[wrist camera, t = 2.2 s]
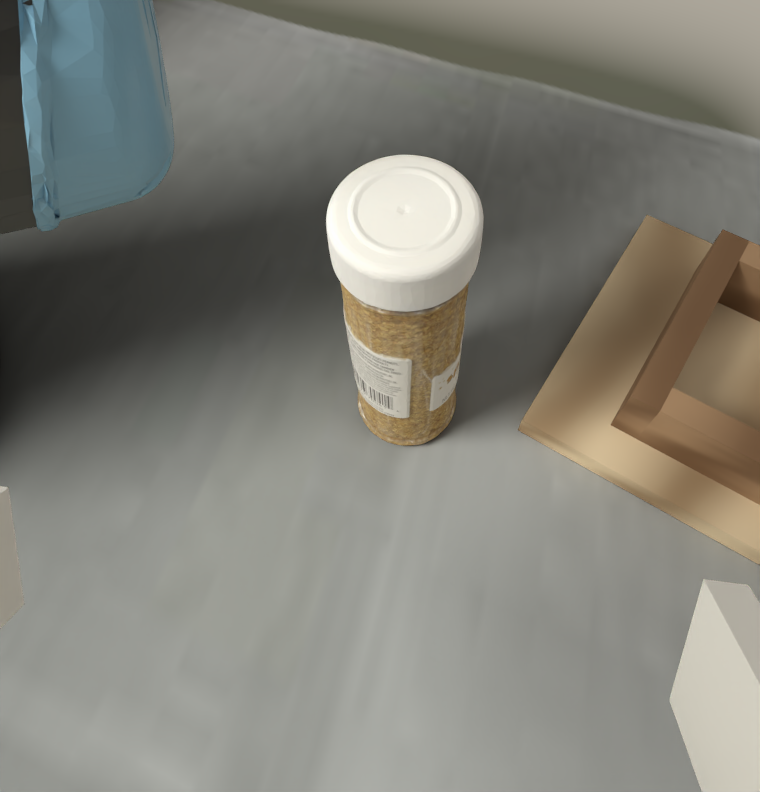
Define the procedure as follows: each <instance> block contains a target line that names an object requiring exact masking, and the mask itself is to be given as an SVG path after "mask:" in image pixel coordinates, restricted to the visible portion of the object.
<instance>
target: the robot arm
mask: <svg viewBox="0 0 760 792" xmlns="http://www.w3.org/2000/svg"><path fill="white" fill-rule="evenodd" d="M173 151H174V132H173V122H172V113H171V106H170V99H169V92H168V86H167V79H166V73H165V67H164V62H163V56H162V50H161V44H160V38H159V33H158V28H157V22H156V17H155V11H154V6H153V1H152V0H0V234H4V233H9V232H13V231H18V230H22V229H27V228H31V227H36V226H37V227H38V229H40V230H41V232H42V231H50V230H52V229H54V228H56V227H58V225H59V223H60V221H61V220H63V219H67V218H71V217H74V216H78V215H82V214H85V213H89V212H93V211H96V210H100V209H103V208H107V207H111V206H114V205H118V204H122V203H125V202H129V201H133V200H135V199H138V198H140V197H142V196H144V195H146V194H147V193H149V192H151V191H152V190H153V189H154V188H156V187H157V186H158V185H159V183H160V182H161V181H162V180H163V178H164V177H165V175H166V173H167V171H168V169H169V167H170V164H171V161H172V157H173ZM23 605H24V597H23V590H22V582H21V575H20V568H19V560H18V553H17V545H16V538H15V531H14V523H13V516H12V509H11V501H10V494H9V487H2V486H0V629H1V627H2V626H3V625H4V624H5V623H6V622H7V621H8V620H9V619H10V618H11V617H12V616H13V615H14V614H15V613H16V612H17V611H18V610H19V609H20V608H21V607H22V606H23ZM669 701H670V703H671V706H672V709H673V712H674V715H675V718H676V720H677V723H678V726H679V729H680V732H681V734H682V737H683V740H684V743H685V746H686V749H687V751H688V754H689V757H690V760H691V763H692V765H693V768H694V771H695V774H696V777H697V779H698V782H699V785H700V788H701V791H702V792H760V602H759V601H758V599H757V598H756V596H755V594H754V593H753V591H752V590H751V588H750V586H749V585H745V584H738V583H730V582H722V581H715V580H707V579H703V583H702V586H701V590H700V593H699V597H698V600H697V604H696V607H695V611H694V614H693V618H692V621H691V625H690V628H689V632H688V635H687V639H686V642H685V646H684V650H683V653H682V657H681V660H680V664H679V667H678V671H677V674H676V678H675V681H674V685H673V688H672V692H671V695H670V699H669Z"/></svg>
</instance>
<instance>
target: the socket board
mask: <svg viewBox="0 0 760 792" xmlns="http://www.w3.org/2000/svg"><path fill="white" fill-rule="evenodd" d="M518 430H519V431H520V432H522V433H524V434H526V435H528V436H529V437H531V438H533V439H535V440H536V441H538V442H540V443H542V444H544V445H545V446H547V447H549V448H551V449H553V450H554V451H556V452H558V453H560V454H562V455H563V456H565V457H567V458H569V459H571V460H572V461H574V462H576V463H578V464H579V465H581V466H583V467H585V468H587V469H588V470H590V471H592V472H594V473H596V474H597V475H599V476H601V477H603V478H605V479H606V480H608V481H610V482H612V483H614V484H615V485H617V486H619V487H621V488H622V489H624V490H626V491H628V492H630V493H631V494H633V495H635V496H637V497H639V498H640V499H642V500H644V501H646V502H648V503H649V504H651V505H653V506H655V507H656V508H658V509H660V510H662V511H664V512H665V513H667V514H669V515H671V516H673V517H674V518H676V519H678V520H680V521H682V522H683V523H685V524H687V525H689V526H691V527H692V528H694V529H696V530H698V531H699V532H701V533H703V534H705V535H707V536H708V537H710V538H712V539H714V540H716V541H717V542H719V543H721V544H723V545H725V546H726V547H728V548H730V549H732V550H734V551H735V552H737V553H739V554H741V555H742V556H744V557H746V558H748V559H750V560H751V561H753V562H755V563H757V564H759V565H760V245H757V244H755V243H753V242H750V241H748V240H746V239H744V238H741V237H739V236H737V235H734V234H732V233H730V232H727V231H725V230H722V231H721V233H720V234H719V236H718V237H717V239H716V240H715V242H714V243H713V244H712V243H709V242H707V241H705V240H703V239H700V238H698V237H696V236H694V235H691V234H689V233H687V232H685V231H682V230H680V229H678V228H676V227H673V226H671V225H669V224H667V223H664V222H662V221H660V220H658V219H655V218H653V217H651V216H649V215H646V217H645V219H644V220H643V222H642V224H641V225H640V227H639V228H638V230H637V232H636V233H635V235H634V237H633V238H632V240H631V242H630V243H629V245H628V247H627V248H626V250H625V251H624V253H623V255H622V256H621V258H620V260H619V261H618V263H617V265H616V266H615V268H614V270H613V271H612V273H611V274H610V276H609V278H608V279H607V281H606V283H605V284H604V286H603V288H602V289H601V291H600V293H599V294H598V296H597V297H596V299H595V301H594V302H593V304H592V306H591V307H590V309H589V311H588V312H587V314H586V316H585V317H584V319H583V320H582V322H581V324H580V325H579V327H578V329H577V330H576V332H575V334H574V335H573V337H572V339H571V340H570V342H569V343H568V345H567V347H566V348H565V350H564V352H563V353H562V355H561V357H560V358H559V360H558V362H557V363H556V365H555V367H554V368H553V370H552V371H551V373H550V375H549V376H548V378H547V380H546V381H545V383H544V385H543V386H542V388H541V390H540V391H539V393H538V394H537V396H536V398H535V399H534V401H533V403H532V404H531V406H530V408H529V409H528V411H527V413H526V414H525V416H524V417H523V419H522V421H521V424H520V426H519V429H518Z"/></svg>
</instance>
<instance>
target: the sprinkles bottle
mask: <svg viewBox="0 0 760 792" xmlns="http://www.w3.org/2000/svg"><path fill="white" fill-rule="evenodd" d="M483 219H484V216H483V209H482V204H481V201H480V198H479V196H478V194H477V192H476V191H475V189H474V187H473V186H472V184H471V183H470V182H469V181H468V180H467V179H466V177H464V176H463V175H462V174H461V173H460V172H458V171H457V170H456V169H454V168H453V167H451V166H449V165H448V164H445V163H443V162H441V161H439V160H436V159H432V158H429V157H424V156H417V155H394V156H387V157H383V158H379V159H376V160H374V161H371V162H369V163H366V164H364V165H363V166H361V167H359V168H357V169H356V170H354V171H353V172H352V173H350V174H349V175H348V176H347V177H346V178H345V179H344V180H343V181H342V182H341V183H340V184H339V186H338V187H337V188H336V190H335V192H334V194H333V195H332V197H331V199H330V202H329V205H328V209H327V215H326V228H327V237H328V245H329V251H330V257H331V262H332V266H333V269H334V271H335V273H336V276H337V277H338V279H339V280H340V283H341V288H342V294H343V302H344V305H343V311H344V318H345V324H346V330H347V336H348V343H349V348H350V353H351V359H352V364H353V370H354V376H355V380H356V383H357V387H358V389H359V393H358V407H359V412H360V415H361V416H362V418H363V421H364V423H365V424H366V425H367V426H368V428H369V429H370V431H371V432H373V433H374V434H375V435H376V436H378V437H380V438H381V439H382V440H385V441H386V442H389V443H393V444H397V445H403V446H405V445H420V444H423V443H426V442H428V441H430V440H432V439H433V438H435V437H436V436H438V435H439V434H440V433H441V432H442V431H443V430H444V429H445V428H446V427H447V426H448V424H449V423H450V421H451V419H452V417H453V414H454V411H455V406H456V393H455V386H456V383H457V380H458V375H459V366H460V357H461V349H462V341H463V334H464V326H465V314H466V313H465V306H466V300H467V293H468V284H469V280H470V279H471V277H472V276H473V274H474V272H475V270H476V267H477V264H478V260H479V256H480V250H481V243H482V234H483Z"/></svg>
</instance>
